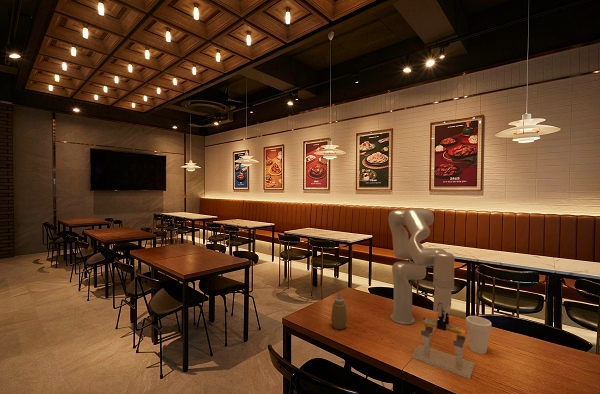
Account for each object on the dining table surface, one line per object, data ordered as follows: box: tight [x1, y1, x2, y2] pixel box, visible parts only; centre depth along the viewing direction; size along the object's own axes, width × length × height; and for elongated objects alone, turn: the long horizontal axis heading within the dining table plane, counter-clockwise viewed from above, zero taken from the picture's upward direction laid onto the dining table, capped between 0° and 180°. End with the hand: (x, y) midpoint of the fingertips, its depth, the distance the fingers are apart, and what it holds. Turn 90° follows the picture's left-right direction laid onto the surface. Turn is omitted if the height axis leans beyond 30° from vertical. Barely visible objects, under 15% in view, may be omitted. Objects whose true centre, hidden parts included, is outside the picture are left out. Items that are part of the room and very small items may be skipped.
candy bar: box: [421, 317, 468, 335], centre depth 113 cm, size 17×4×2 cm, turn 50°
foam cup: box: [465, 315, 492, 355], centre depth 122 cm, size 10×9×13 cm
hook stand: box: [411, 325, 475, 380], centre depth 113 cm, size 10×21×12 cm, turn 50°
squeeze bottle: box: [330, 291, 348, 330], centre depth 142 cm, size 8×8×18 cm
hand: (442, 327), depth 113 cm, fingers closed on candy bar, 4 cm apart
